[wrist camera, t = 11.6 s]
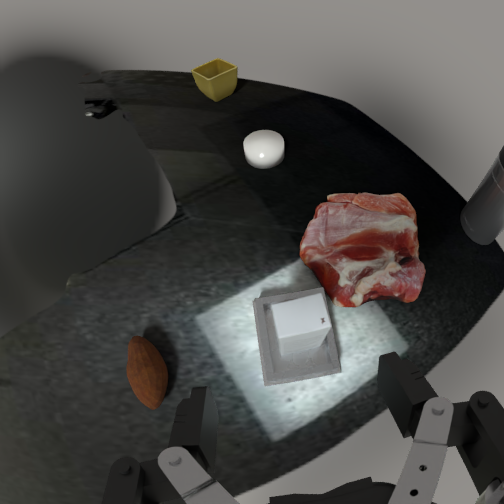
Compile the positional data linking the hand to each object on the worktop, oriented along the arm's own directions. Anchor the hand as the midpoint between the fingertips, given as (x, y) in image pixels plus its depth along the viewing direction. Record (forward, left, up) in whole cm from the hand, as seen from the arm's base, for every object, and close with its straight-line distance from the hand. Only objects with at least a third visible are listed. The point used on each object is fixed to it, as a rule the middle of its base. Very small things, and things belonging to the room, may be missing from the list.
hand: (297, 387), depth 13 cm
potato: (+19, -5, -31) cm, 37 cm away
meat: (-16, -20, -31) cm, 40 cm away
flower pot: (+4, -71, -31) cm, 78 cm away
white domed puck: (-4, -45, -31) cm, 55 cm away
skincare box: (-3, -8, -30) cm, 31 cm away
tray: (-3, -8, -30) cm, 32 cm away
